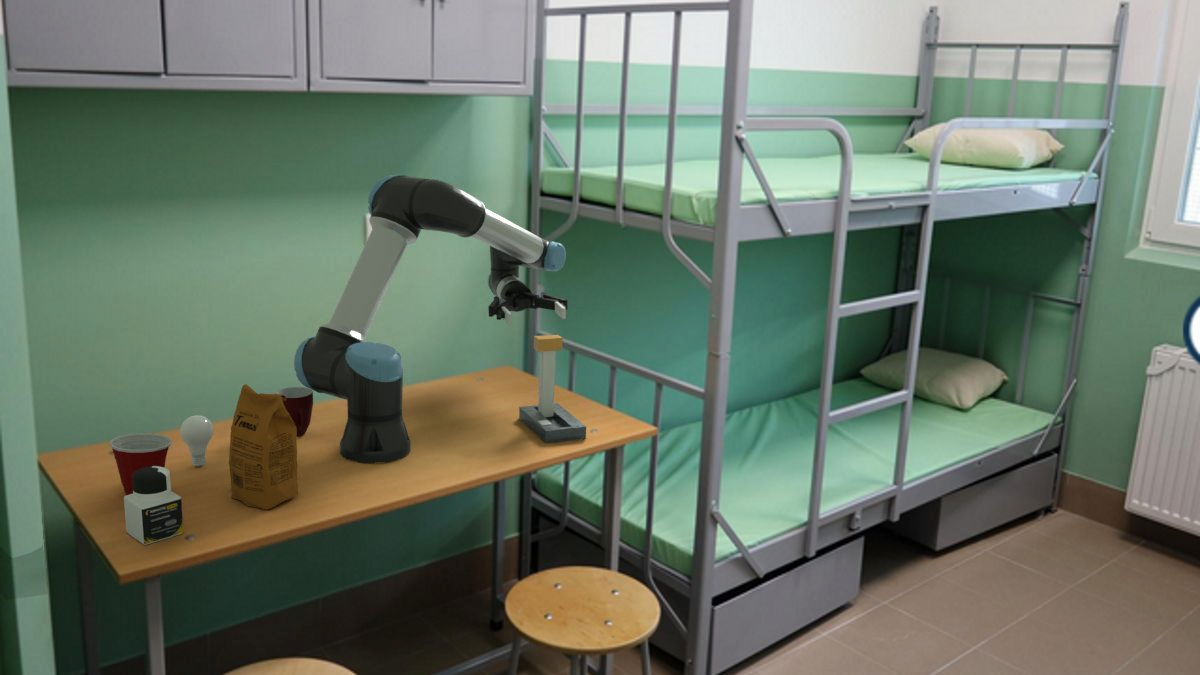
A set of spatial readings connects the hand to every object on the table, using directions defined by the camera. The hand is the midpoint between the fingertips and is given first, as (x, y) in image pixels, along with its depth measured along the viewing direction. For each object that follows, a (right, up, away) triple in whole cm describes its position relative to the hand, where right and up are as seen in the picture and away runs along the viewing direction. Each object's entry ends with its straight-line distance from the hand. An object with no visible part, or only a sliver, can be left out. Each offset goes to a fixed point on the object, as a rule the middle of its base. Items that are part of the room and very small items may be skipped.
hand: (537, 316), depth 245 cm
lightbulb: (-68, -32, -34) cm, 83 cm away
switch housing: (+4, -27, -3) cm, 27 cm away
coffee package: (-50, -36, -48) cm, 78 cm away
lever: (+2, -24, 0) cm, 24 cm away
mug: (-53, -28, -15) cm, 62 cm away
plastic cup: (-72, -36, -51) cm, 95 cm away
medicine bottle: (-64, -40, -65) cm, 99 cm away
